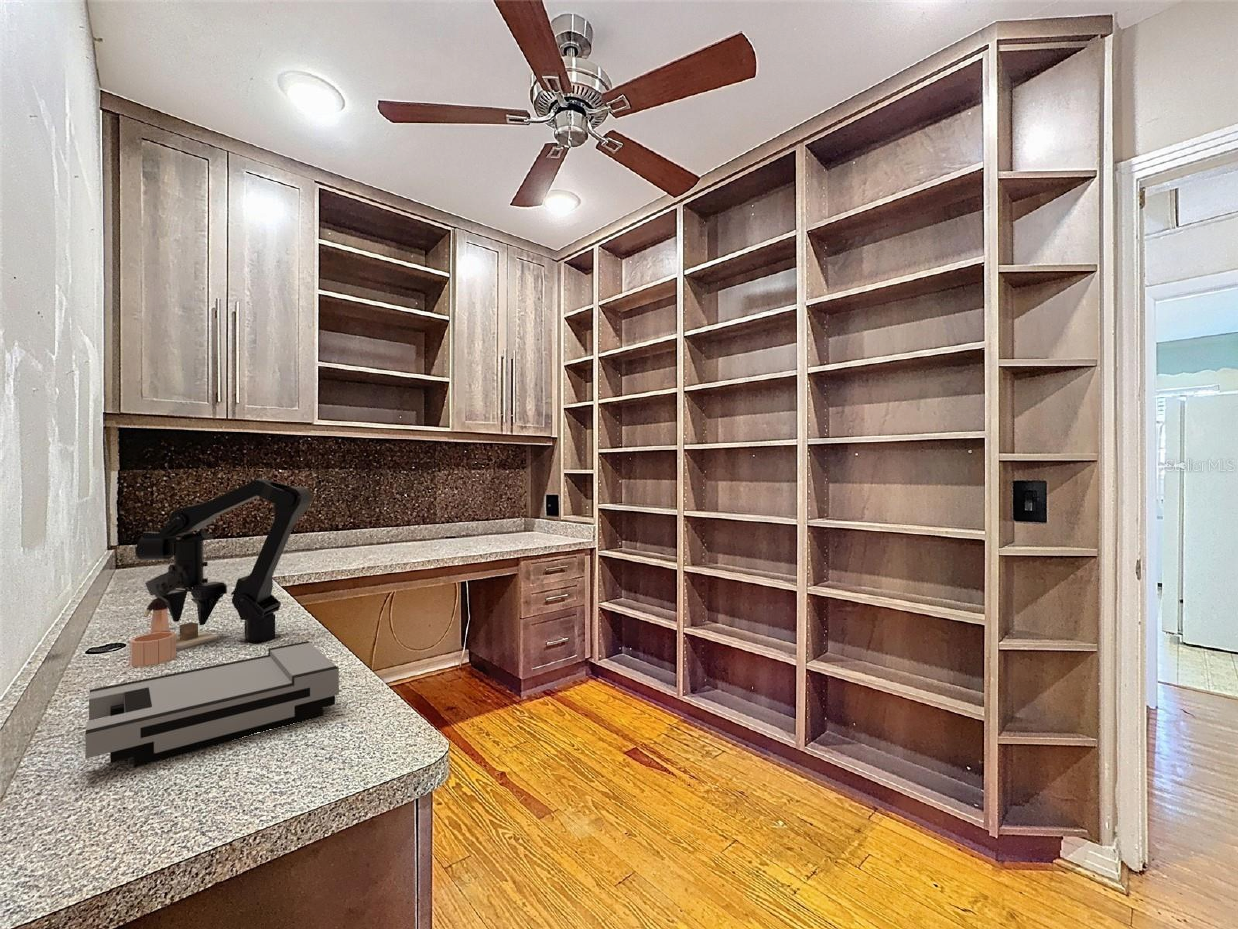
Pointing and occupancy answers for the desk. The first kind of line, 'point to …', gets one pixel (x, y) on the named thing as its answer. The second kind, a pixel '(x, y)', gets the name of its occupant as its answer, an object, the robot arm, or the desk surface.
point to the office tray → (209, 704)
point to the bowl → (152, 649)
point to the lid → (192, 636)
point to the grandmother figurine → (158, 615)
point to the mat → (202, 643)
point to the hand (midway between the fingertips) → (189, 623)
